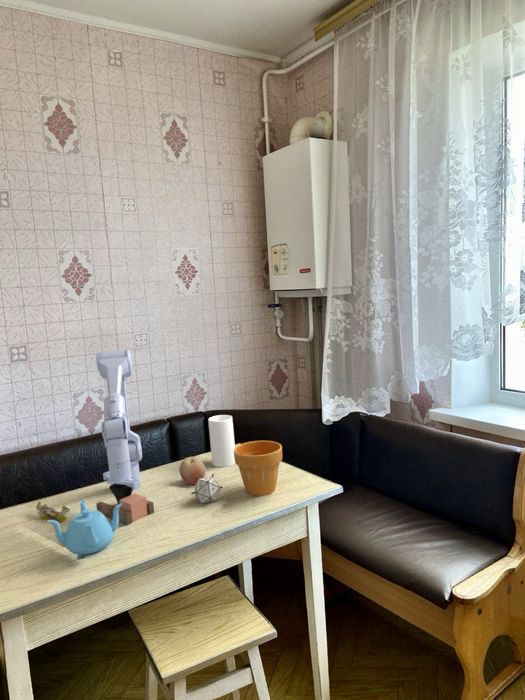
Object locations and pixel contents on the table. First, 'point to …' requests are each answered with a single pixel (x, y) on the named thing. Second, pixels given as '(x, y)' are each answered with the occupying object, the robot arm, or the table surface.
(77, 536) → the teapot
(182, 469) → the fruit
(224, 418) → the white tall cylinder
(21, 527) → the table surface
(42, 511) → the toy
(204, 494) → the game die
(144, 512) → the block
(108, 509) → the chute
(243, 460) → the flower pot
